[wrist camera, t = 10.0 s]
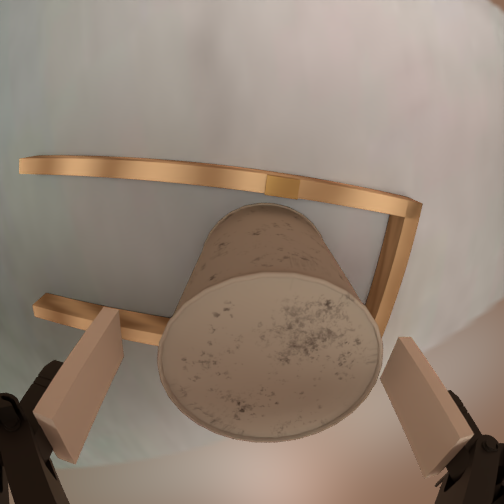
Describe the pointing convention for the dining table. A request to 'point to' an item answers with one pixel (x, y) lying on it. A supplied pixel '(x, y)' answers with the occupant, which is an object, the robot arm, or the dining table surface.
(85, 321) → the beam frame
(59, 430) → the robot arm
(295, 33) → the dining table surface
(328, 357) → the speckled beige cylinder
